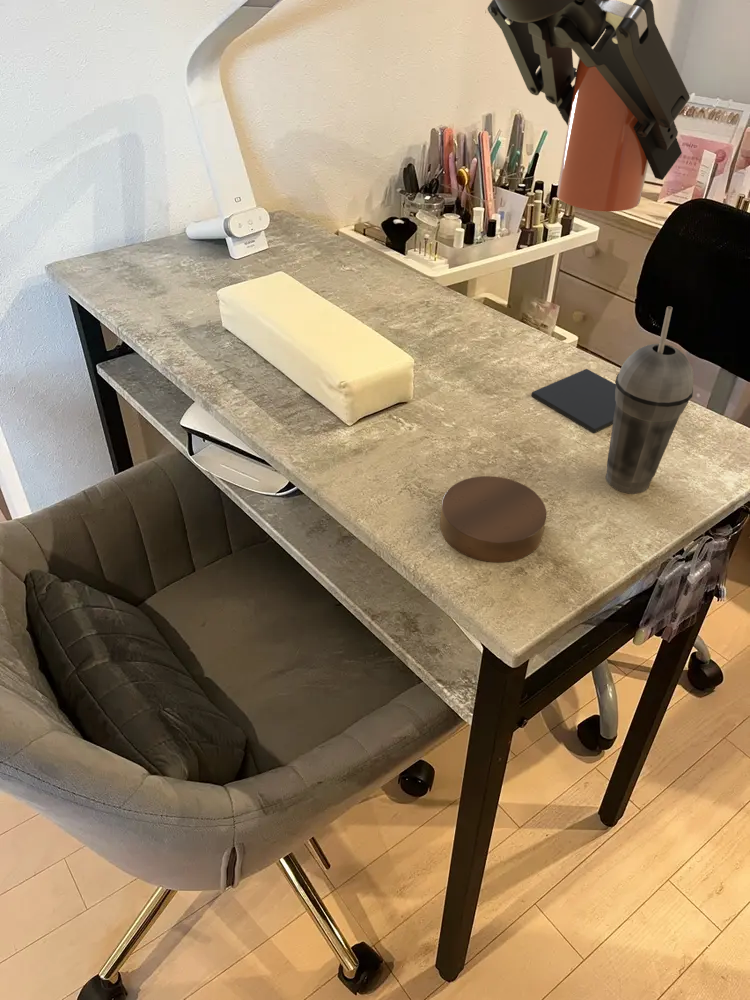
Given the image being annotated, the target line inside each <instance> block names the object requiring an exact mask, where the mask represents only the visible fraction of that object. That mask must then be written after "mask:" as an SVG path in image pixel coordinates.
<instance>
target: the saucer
mask: <svg viewBox="0 0 750 1000" xmlns="http://www.w3.org/2000/svg"><path fill="white" fill-rule="evenodd" d="M441 500H442V501H441V508H440V519H439V522H440V523H439V527H440V531H441V533H442V536H443V538H444V539H445V541H446V542H447V543H448V544H449V545H450V546H451V547H452V548H453V549H455V550H456V551H457V552H458V553H461V554H463V555H465V556H467V557H469V558H472V559H474V560H478V561H482V562H489V563H507V562H513V561H517V560H521V559H523V558H525V557H527V556H529V555H531V554H532V553H533V552H534V551H535V550H537V548H539V546H540V545H541V542H542V539H543V536H544V532H545V531H544V530H545V526H546V521H547V516H548V515H547V507H546V505H545V503H544V501H543V500H542V498H541V497H540V496H539V495H538V494H537V493H536V492H535V491H534V490H532V489H531V488H530V487H529V486H527V485H525V484H523V483H521V482H519V481H516V480H513V479H511V478H507V477H501V476H494V475H493V476H492V475H482V476H474V477H469V478H466V479H463V480H460V481H458V482H457V483H454V484H453V485H452V486H450V487H449V488H448V490H446V491H445V493H444V495H443V497H442V499H441Z"/></svg>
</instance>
